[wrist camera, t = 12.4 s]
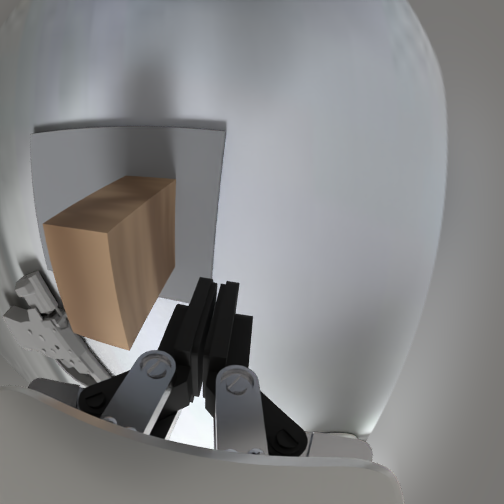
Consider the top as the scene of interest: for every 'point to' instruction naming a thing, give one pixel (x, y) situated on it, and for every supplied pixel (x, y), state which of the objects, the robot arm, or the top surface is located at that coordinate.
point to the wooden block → (114, 256)
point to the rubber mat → (144, 165)
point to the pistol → (51, 331)
